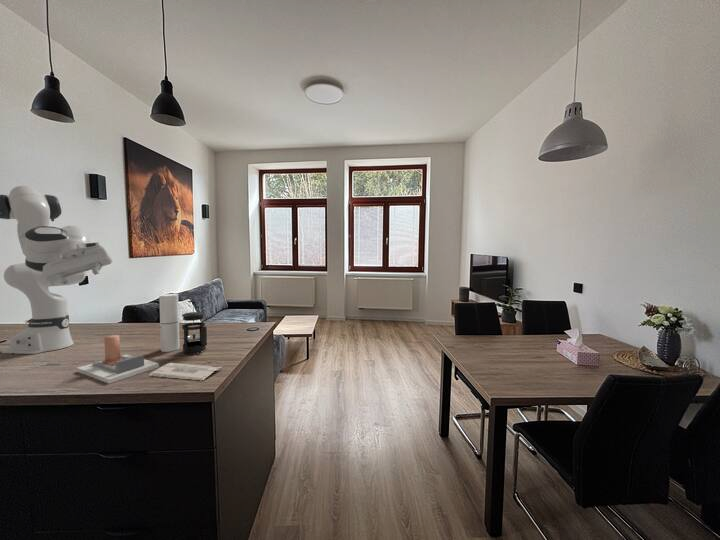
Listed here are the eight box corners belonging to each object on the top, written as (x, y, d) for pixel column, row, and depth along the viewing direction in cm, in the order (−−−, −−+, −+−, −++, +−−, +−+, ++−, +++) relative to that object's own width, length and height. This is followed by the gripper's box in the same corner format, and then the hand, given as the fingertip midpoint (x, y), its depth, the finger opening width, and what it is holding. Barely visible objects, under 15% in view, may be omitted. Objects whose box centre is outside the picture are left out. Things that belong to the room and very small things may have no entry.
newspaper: (225, 369, 112) (224, 363, 112) (203, 386, 101) (202, 380, 100) (174, 364, 116) (173, 358, 116) (147, 380, 104) (146, 373, 104)
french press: (175, 352, 128) (174, 301, 127) (194, 346, 137) (193, 298, 136) (196, 356, 125) (195, 302, 123) (213, 349, 134) (212, 299, 132)
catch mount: (77, 371, 107) (76, 357, 107) (126, 357, 122) (126, 344, 121) (108, 383, 98) (108, 367, 97) (158, 367, 112) (158, 353, 112)
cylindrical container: (170, 352, 129) (168, 296, 127) (156, 351, 130) (155, 295, 129) (183, 347, 136) (181, 294, 134) (170, 346, 137) (168, 293, 136)
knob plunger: (101, 363, 110) (100, 337, 109) (117, 359, 115) (116, 334, 114) (108, 366, 108) (107, 339, 107) (124, 361, 112) (123, 335, 112)
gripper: (37, 258, 108) (37, 283, 101) (103, 240, 118) (108, 262, 111) (48, 270, 113) (49, 294, 106) (111, 252, 122) (116, 273, 115)
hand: (80, 277), depth 108 cm, fingers open, 8 cm apart
